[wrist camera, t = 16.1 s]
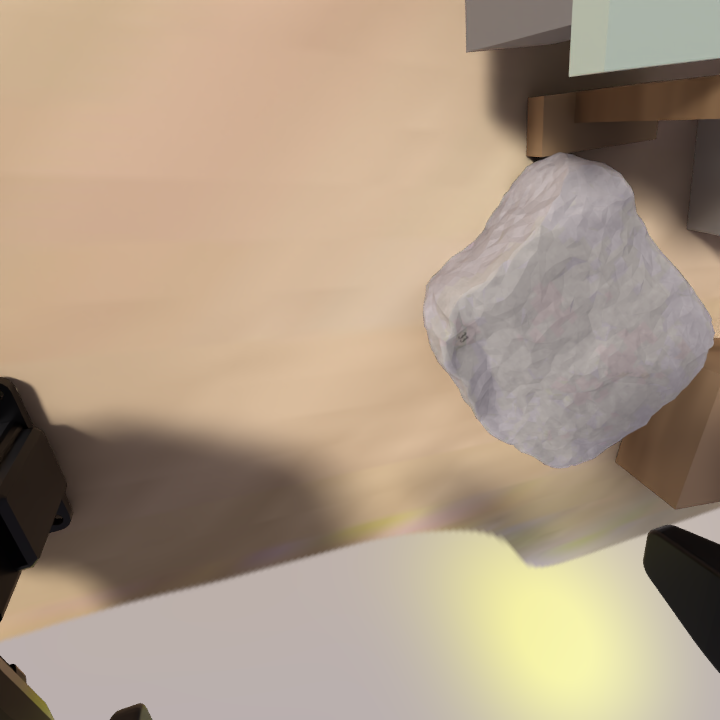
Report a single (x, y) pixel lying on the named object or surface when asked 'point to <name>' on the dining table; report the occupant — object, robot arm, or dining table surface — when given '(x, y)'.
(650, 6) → the trapdoor
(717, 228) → the grey block
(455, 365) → the stone block
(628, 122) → the trapdoor frame
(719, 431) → the plinth
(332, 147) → the dining table surface
